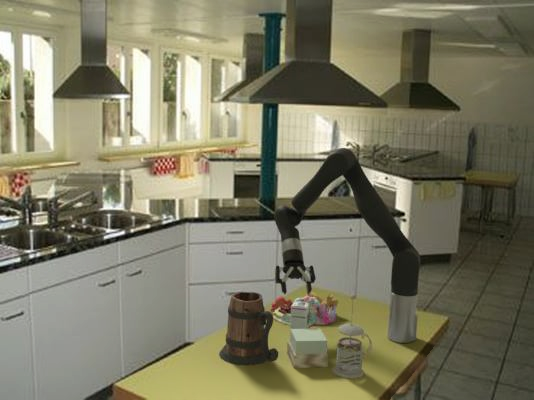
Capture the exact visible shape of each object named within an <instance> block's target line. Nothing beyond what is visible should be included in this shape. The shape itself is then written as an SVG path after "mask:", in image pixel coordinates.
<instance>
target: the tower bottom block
mask: <svg viewBox="0 0 534 400" xmlns="http://www.w3.org/2000/svg"><path fill="white" fill-rule="evenodd" d="M286 355H287V356H288V359H289V361H290V363H291V365H292V368H293V369H305V368H307V369H308V368H309V369H310V368H328V367H329V366H328V364H329V353H328V352H327V354H304V355H295V352H294V350H293V348H292V346H291V343H290V340H289V341H287V347H286Z"/></svg>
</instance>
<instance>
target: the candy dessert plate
mask: <svg viewBox="0 0 534 400" xmlns="http://www.w3.org/2000/svg"><path fill="white" fill-rule="evenodd" d="M333 298H334V295H333V294H328V295H327V296H326V300H324V299H323V297H321V296H319V295H318V294H317V293H314V292H313V291H311V292H310V294H307V293H306V295H305V296H304V297H297V298H296V299H294V300H293V301H292V299H290V298H285V297H283V296H281V295H280V296H277V297H276V298H275V299H274V302H273V303H272V304H271V307H270V309H269V312H271V313H272V315H273V321H274V320H275V321H277V322H278V323H281V324H283V325H284V326H285V325H286V326H288V327H290V322H291V306H292V304H293V302H294V301H305V302H309V327H311V326H314V325H317V326H318V325H319V326H321V325H322V326H325V325H329V324H332V323H334V322H335V321H336V320H337V315H338V314H337V313H336V309H337V307H338V306H337V305H338V303H339V299H338V300H337V299H334V300H333Z"/></svg>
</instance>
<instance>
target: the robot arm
mask: <svg viewBox="0 0 534 400" xmlns="http://www.w3.org/2000/svg"><path fill="white" fill-rule="evenodd" d="M340 177H343V178H344V179H345V181H346V182H347V184H348V185H349V188H350V189H351V191H352V194H353V199H354V203H355V206H356V208H357V210H358V212H359V214H360V215H361V217H362V218H363V220H364V221H365V223H366V224H367V226H368V227H369V228H370V229H371V230H372V232H374V233H375V234H376V235H377V236H378V237H379V238H380V239H381V240H382V241H383V242H384V243H385V245H386V247H387V248H388V250H389V252H390V253H391V255H392V258H393V259H392V263H391V276H390V277H391V279H390V289H391V290H390V301H389V302H390V303H389V310H388V311H389V313H388V327H387V338H388V339H389V340H390V341H392V342H395V343H400V344H408V343H412V342H416V340H417V330H418V318H419V316H418V314H417V303H418V294H419V293H418V292H419V274H420V265H421V260H422V259H421V255H420V253H419V251H418V250H417V248H415V246H414V245H413V244H412V242H410V240H409V239H408V237H406V235H405V234H404V233H403V231H402V230H401V228H400V226H399V225H398V222H397V221H396V219H395V217H394V216H393V214H392V212H391V210H390V209H389V208H388V205H386V203H385V202H384V200H383V198H382V197H381V195H380V194H379V193H378V192H377V190H376V188H375V187H374V185H373V184H372V182H371V181H370V180H369V178H368V177H367V175H366V174H365V172H364V170H363V167H362V165H361V164H360V162H359V159H358V158H357V156H356V154H355V153H354V152H353V151H352V150H351V149H348V148H347V147H341V148H338V149H335V150H334V151H332V152H330V153H329V154H328V155H327V157H326V158H325V160H324V161H323V163H322V165H321V166H320V168H318V170H317V172H316V173H315V175H313V176H312V178H311V179H310V180H308V182H307V183H306V184H305V185H304V186H303V187H302V188H301V189H300V190H299V191H298V192H297V193H296V194H295V195H294V196H293V197H292V199H291V205H292V207H293V208H292V207H290V206H287V205H284V204H282V205H278V207H276V209H275V211H274V215H273V216H274V217H273V218H274V223H275V225H276V227H277V230H278V232H279V234H280V241H281V256H282V264H283V266H279V265H276V266H275V269H274V272H275V273H274V274H275V276H274V278H275V279H274V281H275V283H276V284H279V285H280V286H281V287H280V288H281V293H283V295H286V294H287V291H288V290H287V281H288V280H289V279H290V280H294V279H297V280H299V279H300V280H301V281H302V282H303V283H305V285H306V286H305V287H306V295H307V294H310V292H312V284H314V283H315V282H316V279H317V277H316V274H315V269H314V266H313V265H310V266H305V263H304V260H305V259H304V254H303V247H302V244H301V238H300V232H299V229H298V228H297V227H298V225H300V224H301V223H302V221H303V218H304V216H305V214H306V213H307V211H308V210H309V208H311V206H312V205H314V203H316V201H317V200H318V199H319V198H320V197H321V195H322V193H323V192H324V191H325V189H327V187H328V186H330V185H331V184H332V183H333V182H335V181H336V180H337V179H339V178H340ZM306 271H307V273H306ZM282 272H283V273H284V276H283V277H282V278H281V275H280V274H281V273H282ZM307 274H309V276H308V275H307Z"/></svg>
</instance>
